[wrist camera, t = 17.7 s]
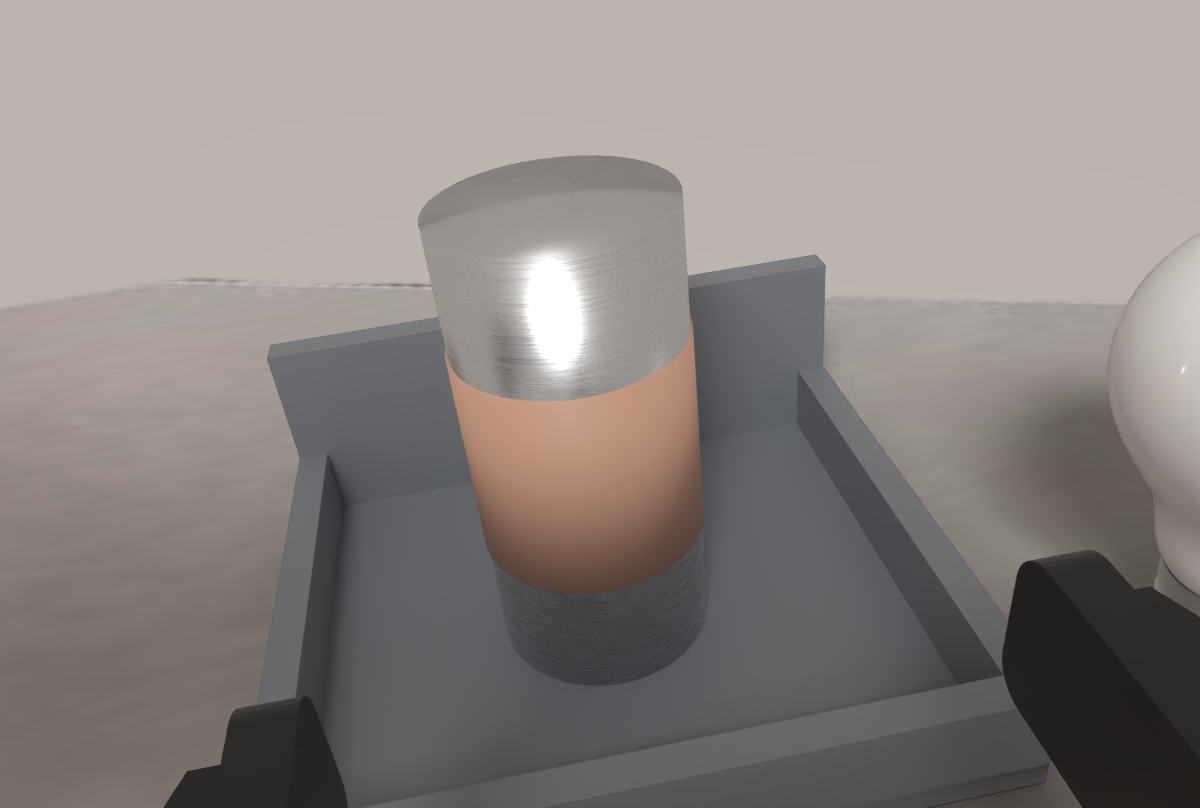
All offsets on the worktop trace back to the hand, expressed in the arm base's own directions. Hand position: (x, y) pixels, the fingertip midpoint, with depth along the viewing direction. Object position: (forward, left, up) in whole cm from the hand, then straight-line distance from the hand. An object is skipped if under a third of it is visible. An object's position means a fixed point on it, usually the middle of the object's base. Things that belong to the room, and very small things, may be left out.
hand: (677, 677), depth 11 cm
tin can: (0, +11, -9) cm, 14 cm away
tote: (0, +11, -10) cm, 15 cm away
